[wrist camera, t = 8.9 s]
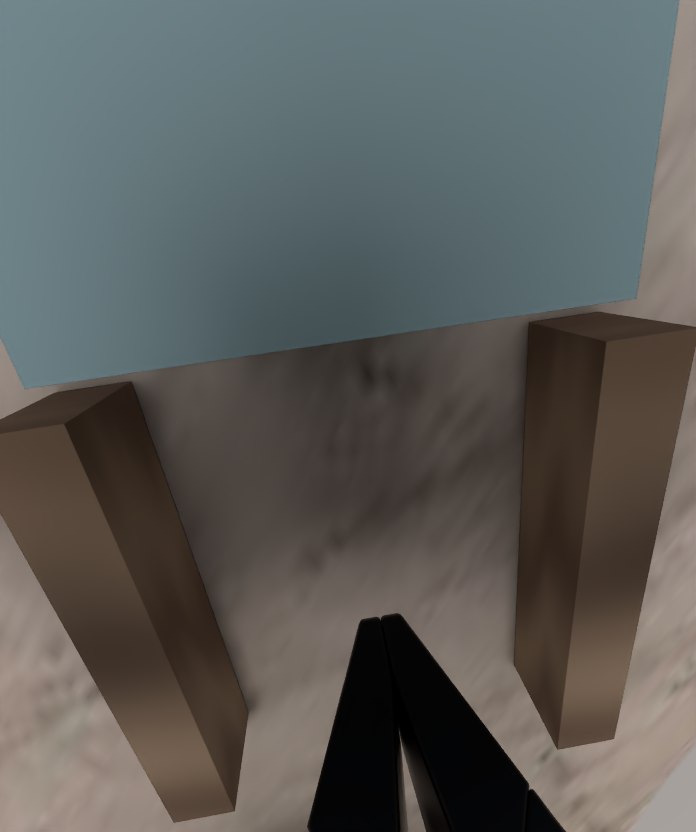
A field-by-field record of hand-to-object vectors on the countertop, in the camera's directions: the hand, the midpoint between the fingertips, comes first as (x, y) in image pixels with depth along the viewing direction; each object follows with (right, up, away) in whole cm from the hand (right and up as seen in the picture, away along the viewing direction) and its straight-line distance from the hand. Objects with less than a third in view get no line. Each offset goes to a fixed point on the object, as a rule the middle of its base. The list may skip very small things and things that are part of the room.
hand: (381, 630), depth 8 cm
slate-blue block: (-2, +10, +1) cm, 10 cm away
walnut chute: (0, 0, +5) cm, 5 cm away
